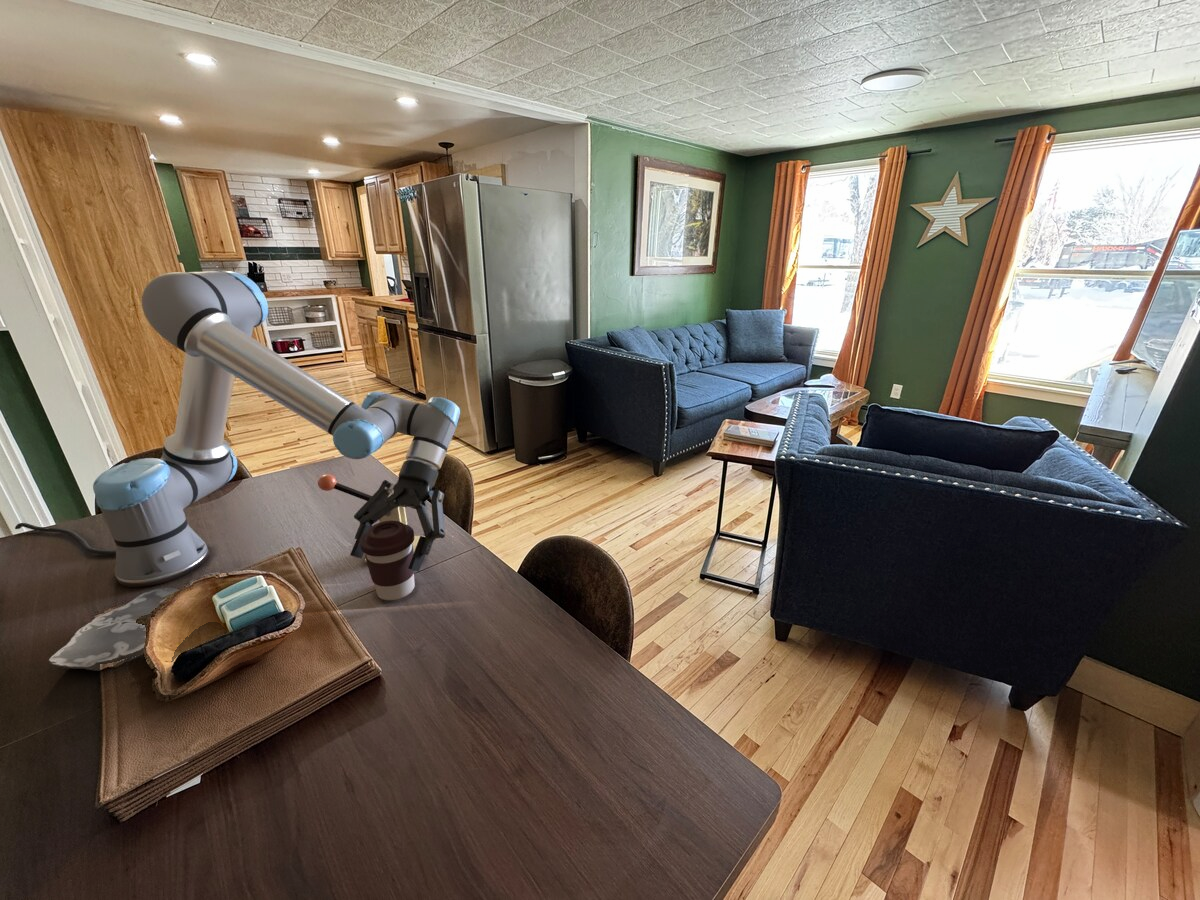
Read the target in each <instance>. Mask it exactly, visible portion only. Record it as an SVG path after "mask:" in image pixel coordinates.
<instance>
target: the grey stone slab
mask: <svg viewBox="0 0 1200 900" xmlns="http://www.w3.org/2000/svg"><path fill="white" fill-rule="evenodd" d="M178 589H181V588H180V587H166V588H165V587H159V588H154V589H151V590H148V591H146V592H144V593H141V594H140V595H138V596H137V597H135V598H134V599H132V600H131V601H129V602H127V603H126V604H124V605H122V606H119V607H117V608H115V609H112V610H111V611H108V612H106V613H103V614H101V615H98V616H97V617H95V618H93V619H92V620H91V622H88V623H87V624H85V625H83V626H82V627H80V628H79V629H78V630H77V631H75V633H74V634H73V636H72V637H71V638H70V640H69V641H68V642H67V643H66V645H64V646H63V647H61V648H60V649H58V650H57V651H56V652H55V653H54V654H53V655H51V657H50V658H49V659H48V662H49V664H51V666H54V667H57V668H62V669H72V670H75V669H77V670H79V669H84V670H89V671H96V672H99V671H100V669H99V667H100V664H107V663H112V662H117V661H120V660H122V659H125V660H124V661H121V662H119V663H117V664H116V665H115V667H114V668H117V667H119V666H121V665H122V664H124V663H126V662H130V661H132V660H135V659H136V658H139V657H141V656H143V655H144V654H142V653H143V648H144V645H145V638H146V627H145V625H142V624H138V623H136V620H137V618H139V617H141V616H144V615H148V614H150V613H151V612H152V611H153V610H155V608H157V607H158V606H159V605H160V603H162V602H163V600H164V599H165V598H166V597H167V596H169V595H170V594H172V593H174V592H175V591H177V590H178ZM138 655H139V656H138ZM135 656H136V657H135ZM132 657H133V658H132ZM126 658H127V659H126Z"/></svg>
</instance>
